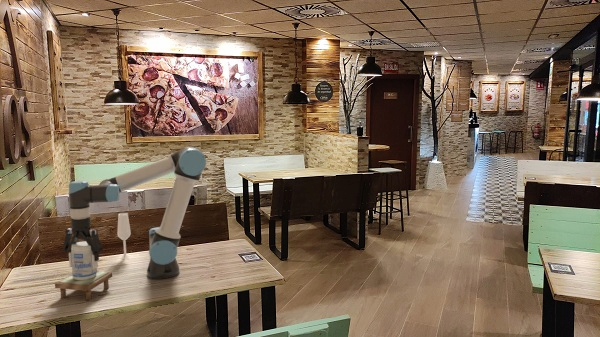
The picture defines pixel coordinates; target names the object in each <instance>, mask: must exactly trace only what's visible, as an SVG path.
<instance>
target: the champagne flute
mask: <svg viewBox="0 0 600 337" xmlns="http://www.w3.org/2000/svg"><path fill="white" fill-rule="evenodd" d="M117 217H118V218H117V237H118V238H119V239H121V240H122V242H123V243H122V244H123V254H122V255H120V256H119V257H118V259H119V260H129V259H131V258H133V255H130V254H128V253H127V244H126V240H128V238H130V236H131V234H132V233H131V227H130V226H131V225H130V220H129V213H128V212H122V213H118V215H117ZM128 258H129V259H128Z"/></svg>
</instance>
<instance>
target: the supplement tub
mask: <svg viewBox="0 0 600 337" xmlns="http://www.w3.org/2000/svg"><path fill="white" fill-rule="evenodd" d="M92 254H93V252H92V250H91V246H89V245H88V244H87V242H86V241H85V240H84V241H83V240H82V241H77V242H76V243H74V244H72V248H71V256H72V267H71V271H72V272H71V275H72V277H73V278H74V279H75V280H87V279H91V278H93V277H95V276H96V275H97V268H98V267H97V268H95V269H92Z"/></svg>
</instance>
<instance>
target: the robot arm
mask: <svg viewBox="0 0 600 337" xmlns="http://www.w3.org/2000/svg"><path fill="white" fill-rule="evenodd" d="M206 166H207V159H206V155H205V154H204V152H202V151H201V150H200V149H198V148H197V147H194V146H186V147H183V148H181V149H179V150H177V151H175V152H173V153H170V154H169V155H168V157H165V158H163V159H160V160H157V161H155V162H152V163H149V164H146V165H143V166H141V167H138V168H136V169H133V170H130V171H128V172H125V173H123V174H119V175H117V176H114V177H111V178H106V179H103V180H101V181H100V183H99V184H96V185H93V184H92V185H91V184H89V182H88V181H87V180H75V181H71V182H69V184H68V199H69V200H68V201H69V214H70V216H69V217H70V218H71V219H70V226H71V227H69V228H67V229H65V230H64V231H65V237H64V241H63V246H62V251H63V252H67V253H66V254H67V260H68V261H69V265H68V266H69V268H72V256H71V248H72V244H74V243H77V242H78V241H79V240H80V239H81V240H84V241H86V242H87V244H88V245H89V246H91V250H92V252H93V254H92V269H95V268H98V267H99V262H98V261H99V260H100V253H102V252H103V251H104V248H103V246H102V242H101V240H100V236H99V234H98V229H96V228H95V229H91V224H92V221H91V210H90V209H91V208H90V206H91V205H90V204H94V203H98V204H99V203H113V202H118V201H119V200H120V193H122V192H125V191H128V190H130V189H132V188H136V187H139V186H141V185H143V184H147V183H148V182H152V181H155V180H156V179H159V178H162V177H165V176H167V175H170V174H174V176H175V179H174V184H173V185H172V186H173V187H172V190H171V193H170V196H169V199H168V203H167V204H166V207H165V210H164V214H163V217H162V219H161V220H162V221H161V224H160V226H157V227H152V228H150V229H149V231H148V232H149V233H148V236H149V253H148V254H149V259H150V260H149V262H148V267H147V268H146V269H147V270H146V275H147V277H148V278H150V279H157V280H162V279H169V278H172V277H175V276H177V275H179V274H180V266H179V263H178V260H177V255H178V247H179V243H180V240H181V237H182V236H181V234H180V229H181V227H182V223H183V221H184V219H185V218H184V217H185V214H186V211H187V208H188V205H189V202H190V199H191V195H192V193H193V190H194V186H195V184H196V183H197V182H199V181H200V178H201V176H202V173H203V172H204V170H205V168H206Z"/></svg>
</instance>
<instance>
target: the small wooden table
mask: <svg viewBox="0 0 600 337" xmlns="http://www.w3.org/2000/svg"><path fill="white" fill-rule="evenodd" d="M112 278H113V271H112V272H110V271H102V270H101V271H97V275H96V276H95V277H93V278H91V279H87V280H75V279H74V278H73V277H72V274H70V275H68V276H67V277H64V278H63V279H61V280H58V281H57V282H55V283H54V288H55V289H60V299H63V300H64V299H66V298H67V290H75V291H84V292H85V301H86V302H90V301H92V290H93V289H95V288H96V287H98V286H99V285H101V284H103V290H108V289H109V288H110V287H109V286H110V285H109V284H110V283H109V280H110V279H112Z"/></svg>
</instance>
